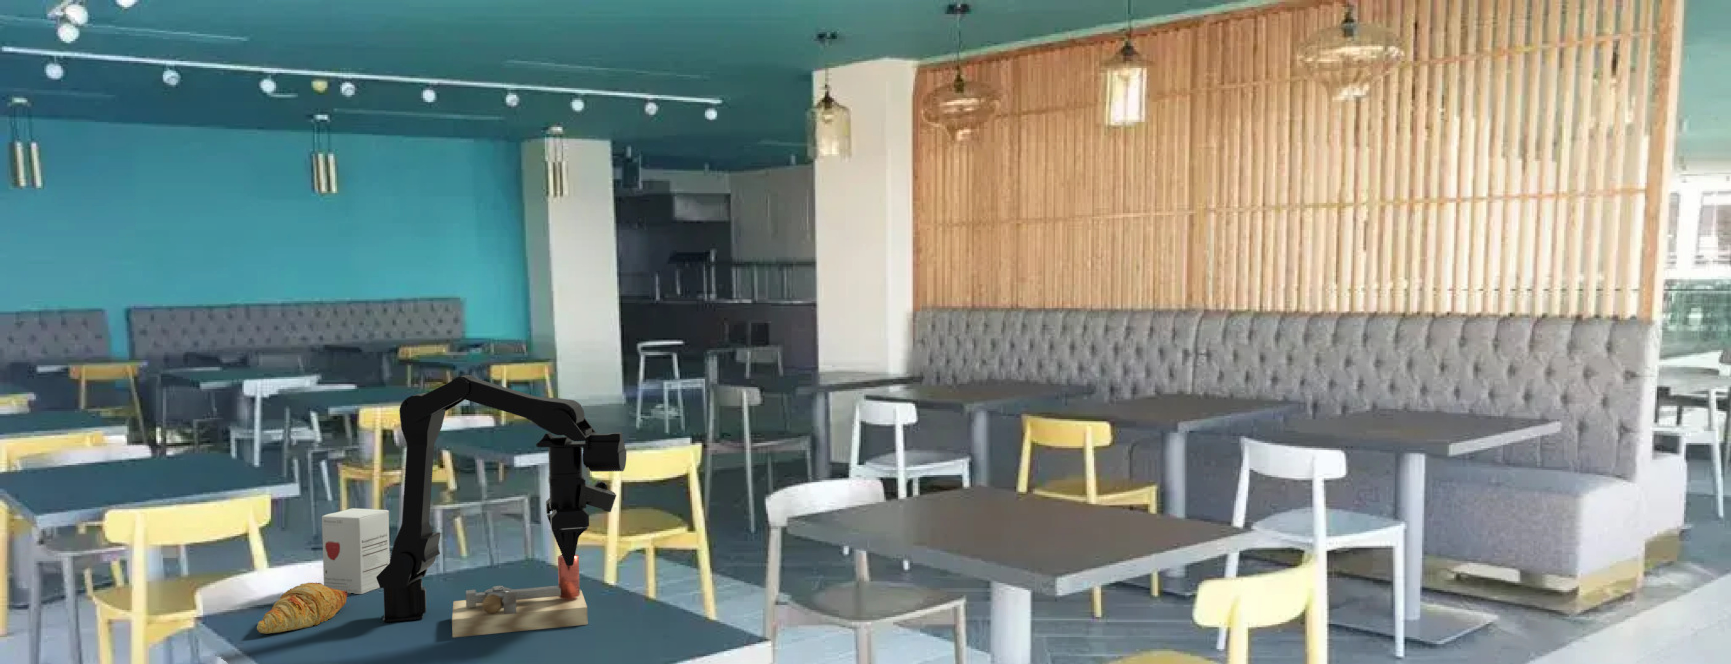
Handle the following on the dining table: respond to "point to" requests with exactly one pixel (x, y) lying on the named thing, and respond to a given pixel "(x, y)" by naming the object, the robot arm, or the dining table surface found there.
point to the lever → (566, 588)
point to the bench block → (519, 615)
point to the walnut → (492, 603)
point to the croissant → (303, 608)
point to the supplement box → (355, 549)
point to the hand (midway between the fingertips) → (567, 559)
